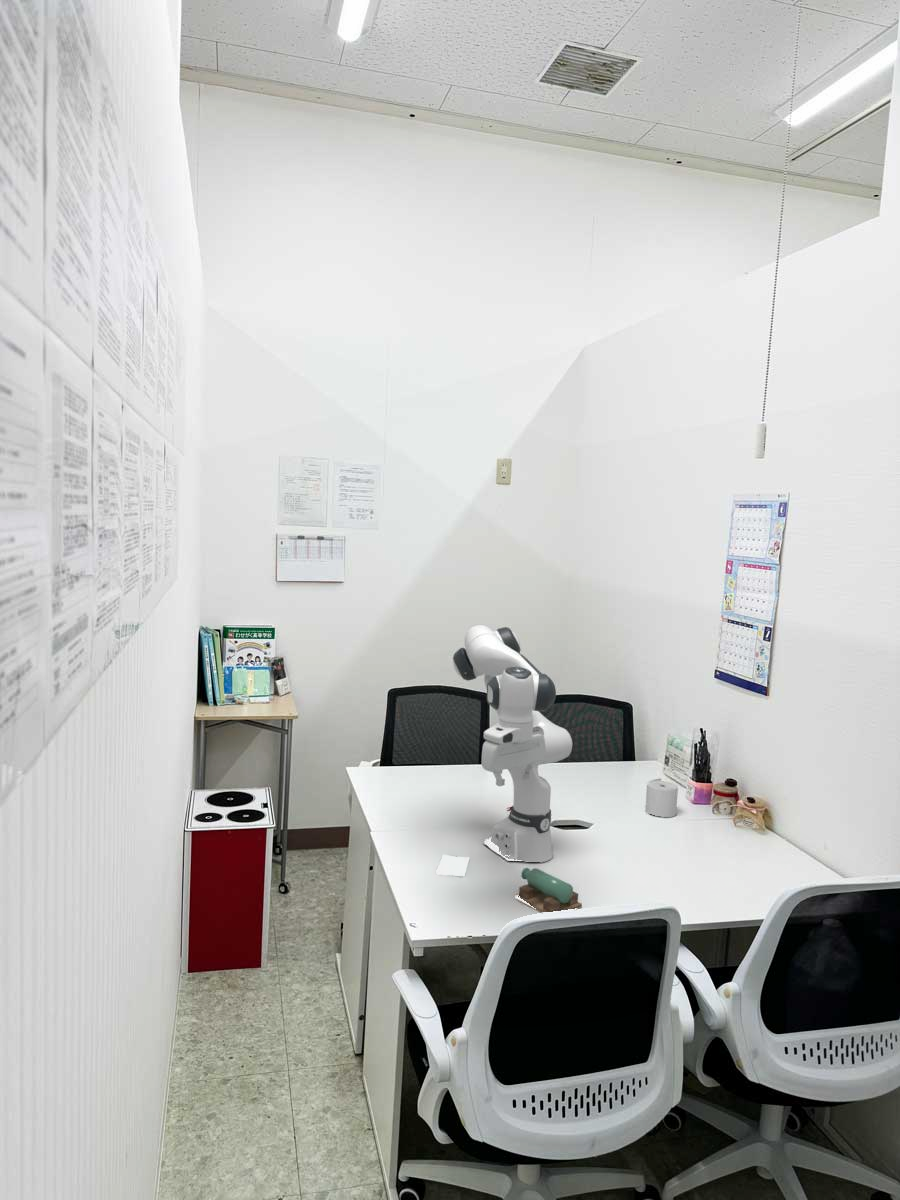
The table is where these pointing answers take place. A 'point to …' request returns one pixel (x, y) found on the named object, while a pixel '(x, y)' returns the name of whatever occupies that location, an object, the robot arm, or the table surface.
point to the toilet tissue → (661, 798)
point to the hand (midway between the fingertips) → (513, 782)
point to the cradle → (546, 900)
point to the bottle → (548, 884)
